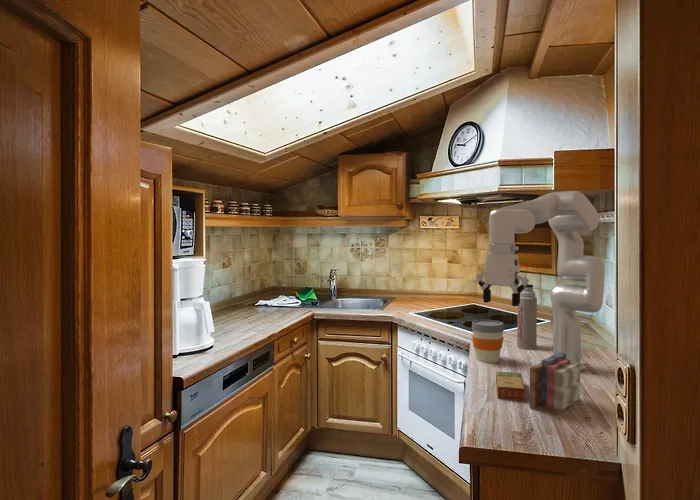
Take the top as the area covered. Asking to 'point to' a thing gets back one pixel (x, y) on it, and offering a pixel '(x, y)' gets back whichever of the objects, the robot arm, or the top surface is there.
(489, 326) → the reusable coffee cup
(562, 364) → the bookend
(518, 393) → the carton
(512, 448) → the top surface
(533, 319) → the thermos bottle
